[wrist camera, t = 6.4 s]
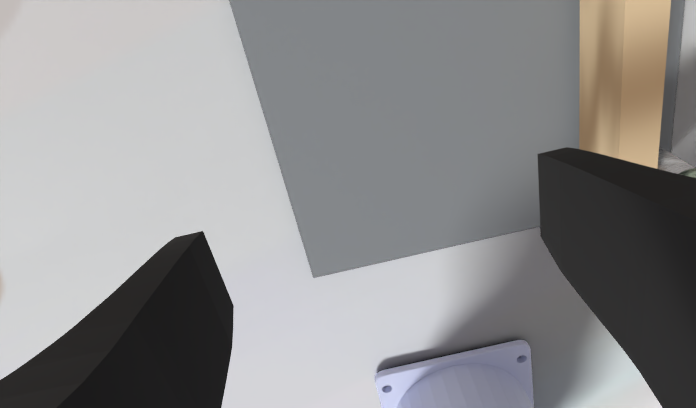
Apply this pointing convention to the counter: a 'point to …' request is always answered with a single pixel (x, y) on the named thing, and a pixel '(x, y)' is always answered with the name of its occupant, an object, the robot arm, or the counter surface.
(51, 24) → the counter surface
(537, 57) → the mat
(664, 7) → the gate
